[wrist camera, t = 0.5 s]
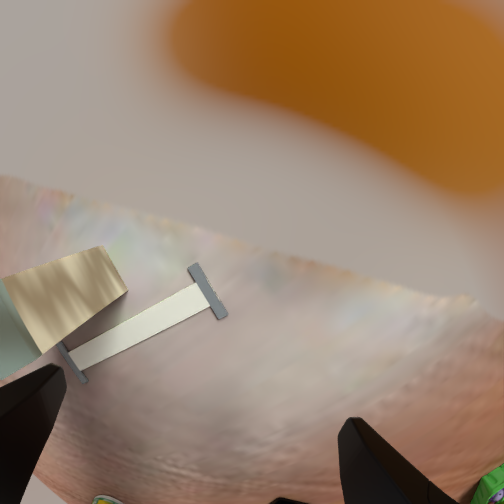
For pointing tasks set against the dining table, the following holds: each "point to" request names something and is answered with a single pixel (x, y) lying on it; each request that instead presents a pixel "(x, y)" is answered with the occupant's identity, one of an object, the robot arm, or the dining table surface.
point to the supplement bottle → (105, 500)
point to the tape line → (146, 324)
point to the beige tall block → (52, 304)
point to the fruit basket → (490, 488)
